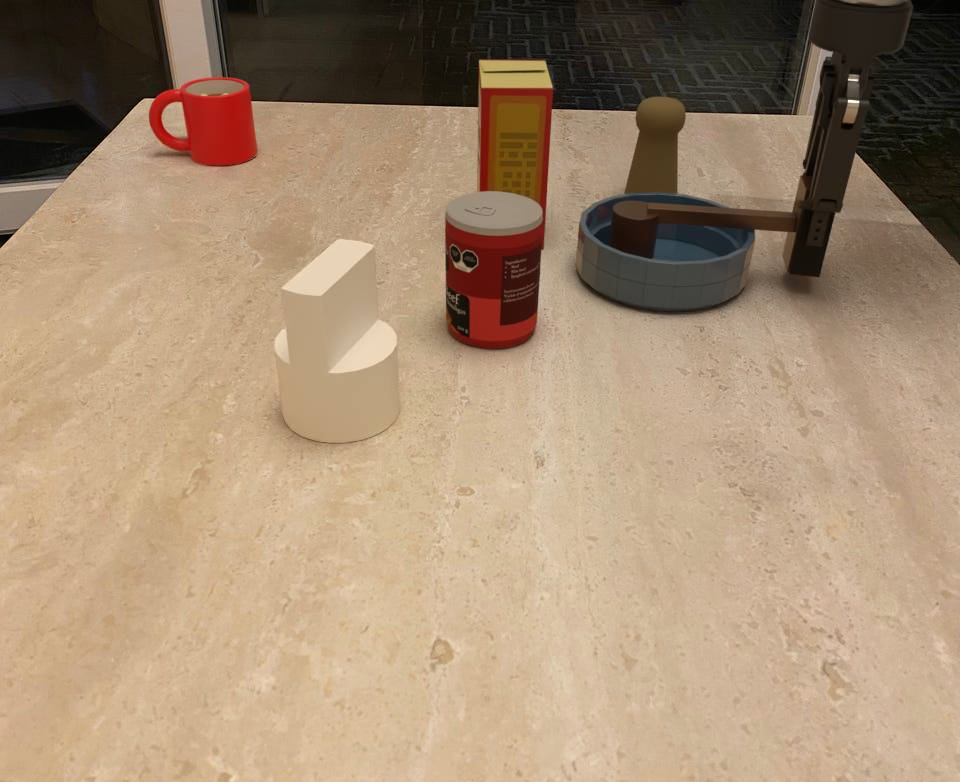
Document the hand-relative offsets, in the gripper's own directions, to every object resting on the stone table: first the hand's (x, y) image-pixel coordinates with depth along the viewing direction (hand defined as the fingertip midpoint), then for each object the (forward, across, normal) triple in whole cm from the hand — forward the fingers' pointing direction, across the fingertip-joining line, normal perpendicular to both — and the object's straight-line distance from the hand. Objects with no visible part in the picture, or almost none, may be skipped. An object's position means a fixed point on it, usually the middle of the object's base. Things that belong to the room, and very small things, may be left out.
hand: (803, 262), depth 94 cm
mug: (+2, -18, -68) cm, 71 cm away
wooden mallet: (0, +1, -8) cm, 8 cm away
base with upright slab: (+2, +30, -36) cm, 47 cm away
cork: (+2, -17, -15) cm, 23 cm away
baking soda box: (+2, -6, -29) cm, 30 cm away
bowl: (+2, +1, -13) cm, 13 cm away
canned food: (+2, +15, -27) cm, 31 cm away
